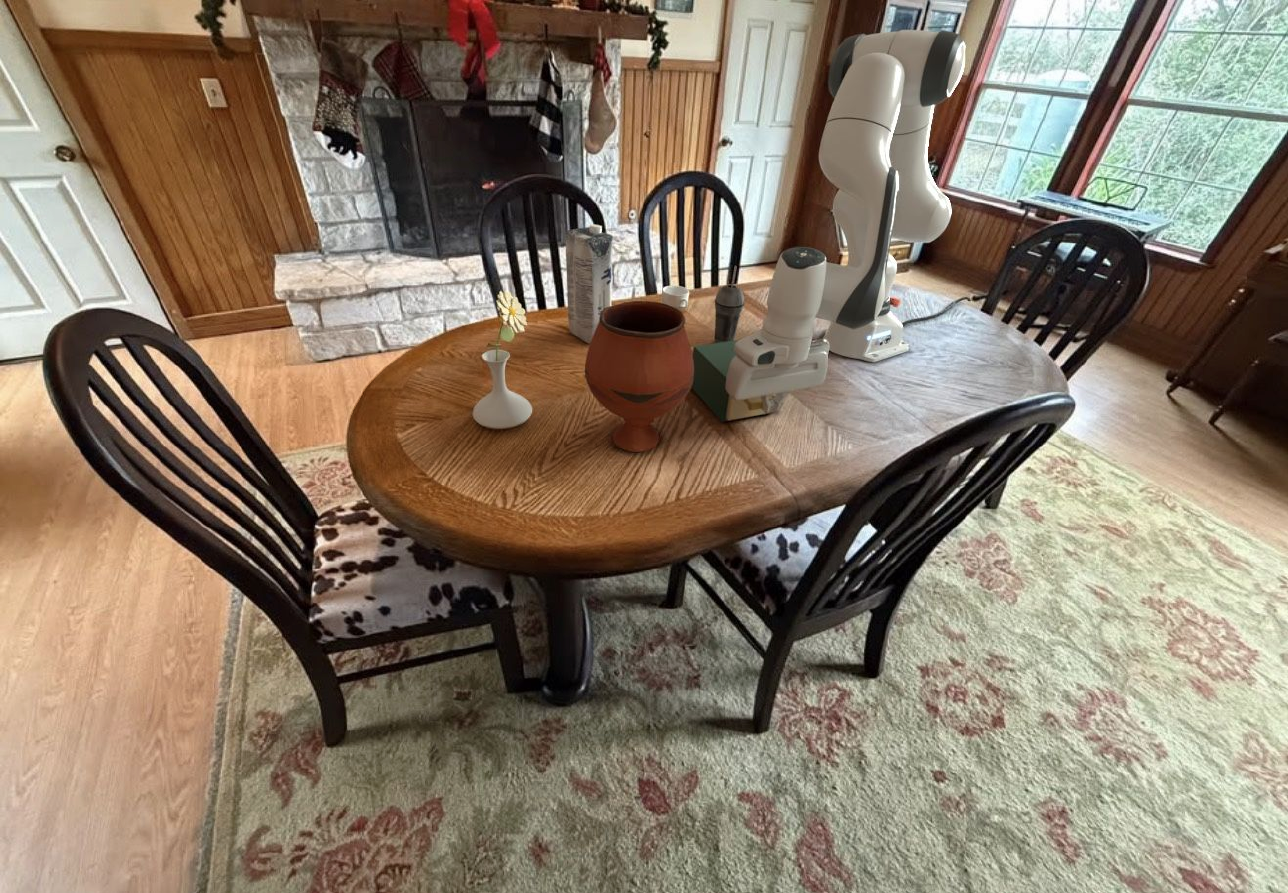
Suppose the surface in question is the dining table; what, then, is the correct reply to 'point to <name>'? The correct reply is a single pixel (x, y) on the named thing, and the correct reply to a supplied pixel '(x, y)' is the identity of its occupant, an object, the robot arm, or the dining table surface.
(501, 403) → the flower in vase
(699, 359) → the cabinet
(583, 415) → the dining table surface
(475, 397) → the dining table surface
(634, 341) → the goblet
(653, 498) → the dining table surface
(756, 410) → the drawer
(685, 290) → the teacup
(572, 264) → the juice carton
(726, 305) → the beverage cup
